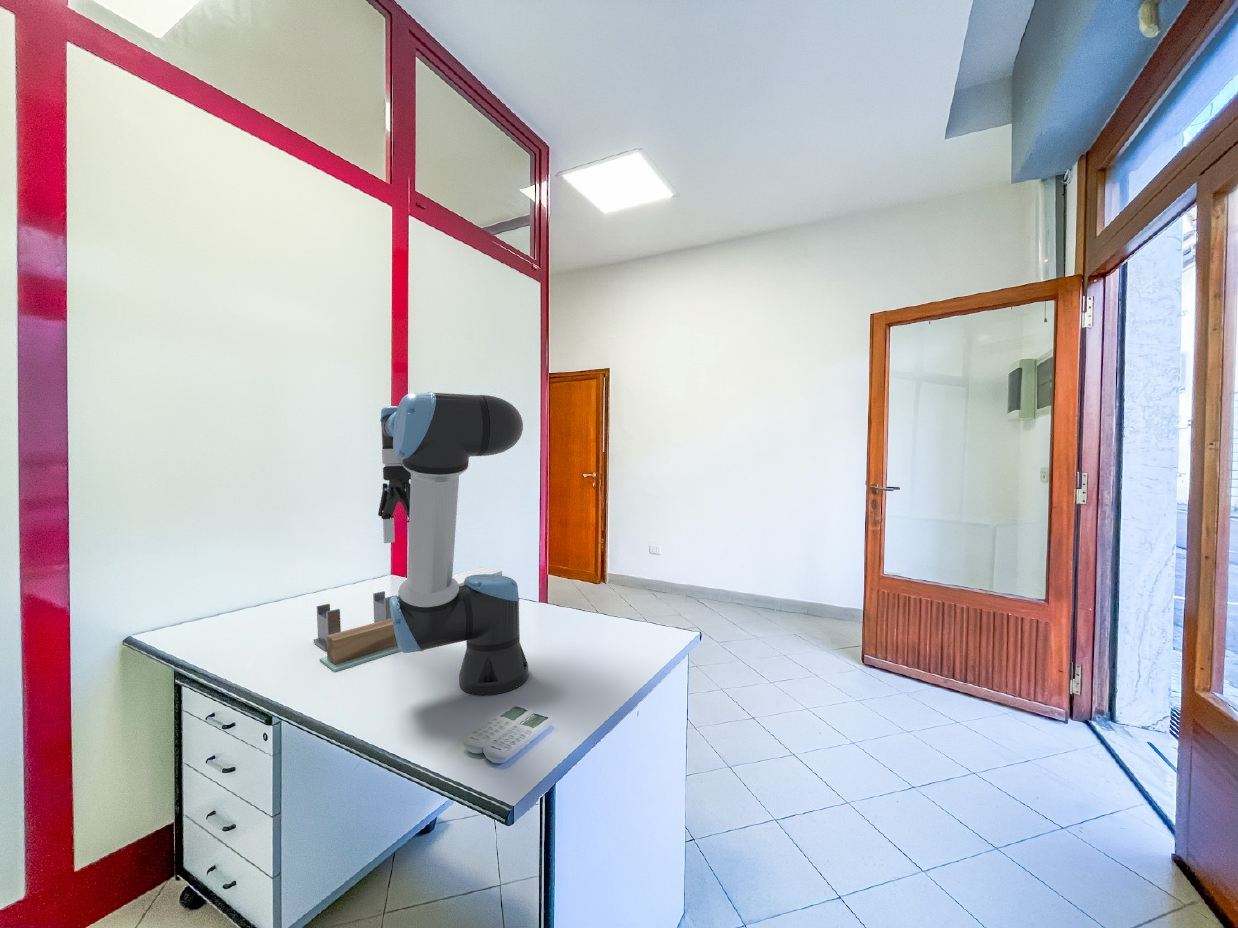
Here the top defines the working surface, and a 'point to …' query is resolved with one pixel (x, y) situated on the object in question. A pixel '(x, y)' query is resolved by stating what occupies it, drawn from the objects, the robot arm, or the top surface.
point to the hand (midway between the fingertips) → (401, 544)
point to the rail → (360, 641)
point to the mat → (358, 659)
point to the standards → (331, 619)
